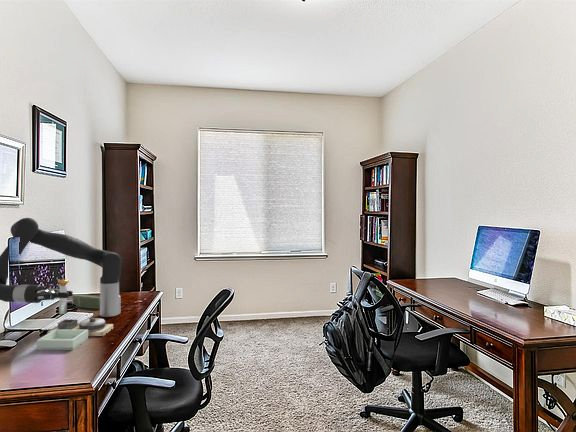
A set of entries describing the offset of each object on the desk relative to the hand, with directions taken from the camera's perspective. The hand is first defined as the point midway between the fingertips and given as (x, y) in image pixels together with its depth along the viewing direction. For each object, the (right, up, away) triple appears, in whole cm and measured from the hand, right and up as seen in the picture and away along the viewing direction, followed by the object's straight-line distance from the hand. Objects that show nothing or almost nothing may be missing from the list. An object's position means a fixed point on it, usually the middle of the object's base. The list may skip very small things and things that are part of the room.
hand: (70, 294), depth 172 cm
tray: (-1, -20, -3) cm, 20 cm away
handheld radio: (-18, -19, +57) cm, 63 cm away
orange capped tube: (-3, -8, 0) cm, 9 cm away
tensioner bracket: (-2, -20, +13) cm, 24 cm away
